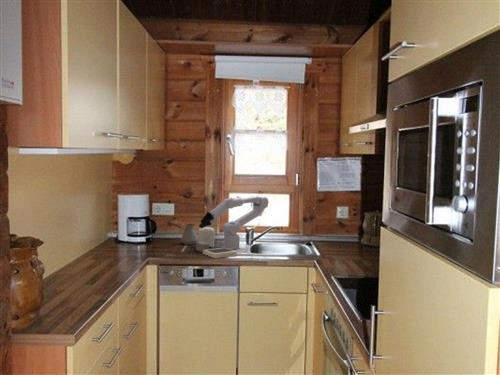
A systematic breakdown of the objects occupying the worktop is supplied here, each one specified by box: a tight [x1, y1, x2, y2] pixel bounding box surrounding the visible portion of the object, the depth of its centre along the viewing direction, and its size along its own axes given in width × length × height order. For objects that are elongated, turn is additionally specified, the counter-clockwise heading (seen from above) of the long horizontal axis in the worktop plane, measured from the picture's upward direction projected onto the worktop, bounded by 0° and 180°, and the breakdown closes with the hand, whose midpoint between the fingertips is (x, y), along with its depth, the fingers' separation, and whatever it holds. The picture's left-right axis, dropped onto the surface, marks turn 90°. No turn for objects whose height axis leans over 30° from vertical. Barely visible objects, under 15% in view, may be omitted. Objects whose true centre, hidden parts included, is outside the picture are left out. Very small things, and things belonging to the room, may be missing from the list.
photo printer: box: [197, 226, 215, 248], centre depth 293 cm, size 10×4×12 cm, turn 98°
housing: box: [195, 242, 210, 253], centre depth 279 cm, size 4×8×5 cm, turn 36°
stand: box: [202, 247, 238, 259], centre depth 269 cm, size 15×13×3 cm
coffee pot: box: [168, 222, 198, 246], centre depth 297 cm, size 21×12×15 cm, turn 132°
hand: (200, 225), depth 276 cm, fingers open, 7 cm apart
